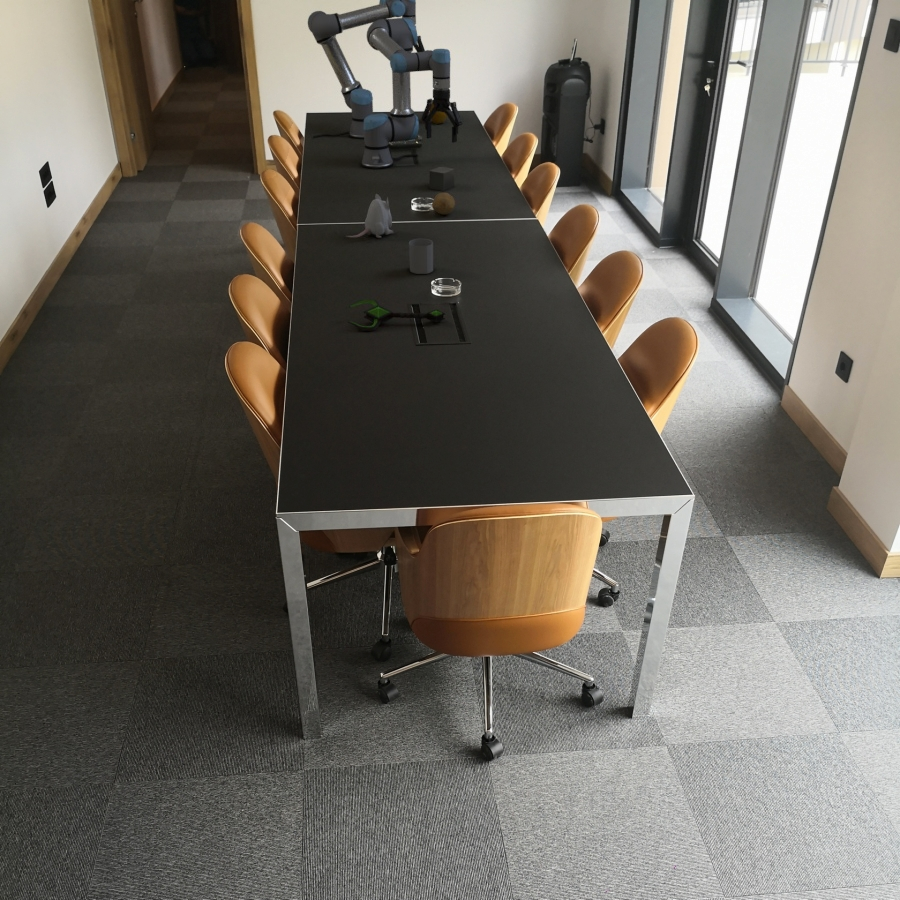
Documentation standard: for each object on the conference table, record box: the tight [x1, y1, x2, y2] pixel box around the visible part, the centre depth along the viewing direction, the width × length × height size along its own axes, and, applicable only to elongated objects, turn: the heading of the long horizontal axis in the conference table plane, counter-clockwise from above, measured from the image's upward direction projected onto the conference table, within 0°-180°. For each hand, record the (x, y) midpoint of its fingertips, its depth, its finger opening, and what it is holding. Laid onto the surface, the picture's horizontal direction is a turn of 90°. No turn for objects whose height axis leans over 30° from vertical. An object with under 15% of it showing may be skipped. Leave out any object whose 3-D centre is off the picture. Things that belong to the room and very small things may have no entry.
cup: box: [408, 237, 434, 275], centre depth 305 cm, size 8×8×10 cm
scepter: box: [348, 298, 446, 331], centre depth 269 cm, size 6×13×30 cm
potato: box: [431, 192, 456, 216], centre depth 360 cm, size 10×14×8 cm
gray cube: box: [429, 166, 455, 192], centre depth 393 cm, size 8×8×8 cm
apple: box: [429, 104, 448, 125], centre depth 502 cm, size 11×11×13 cm
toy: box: [345, 193, 394, 239], centre depth 333 cm, size 9×24×15 cm, turn 137°
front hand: (441, 139), depth 384 cm, fingers open, 13 cm apart
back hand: (410, 67), depth 481 cm, fingers open, 13 cm apart
